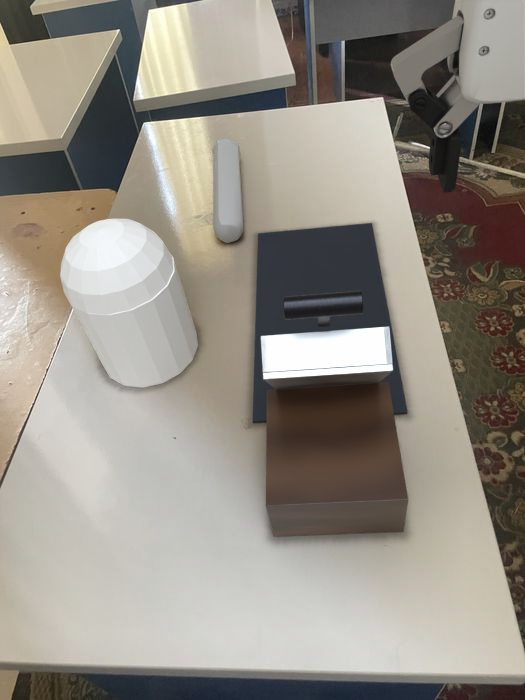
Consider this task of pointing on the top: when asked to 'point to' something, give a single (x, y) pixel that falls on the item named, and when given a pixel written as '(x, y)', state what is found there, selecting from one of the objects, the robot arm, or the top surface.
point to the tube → (227, 191)
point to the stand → (333, 461)
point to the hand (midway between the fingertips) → (518, 173)
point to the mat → (319, 291)
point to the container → (129, 301)
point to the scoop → (326, 346)
